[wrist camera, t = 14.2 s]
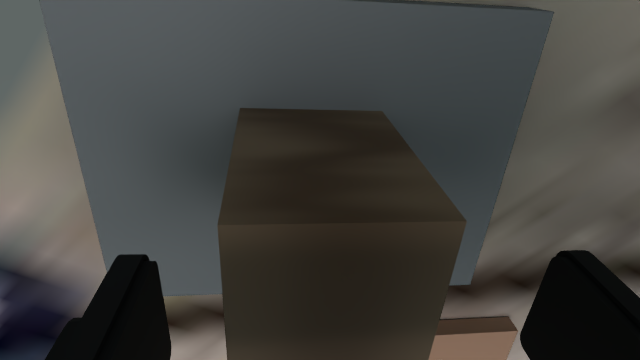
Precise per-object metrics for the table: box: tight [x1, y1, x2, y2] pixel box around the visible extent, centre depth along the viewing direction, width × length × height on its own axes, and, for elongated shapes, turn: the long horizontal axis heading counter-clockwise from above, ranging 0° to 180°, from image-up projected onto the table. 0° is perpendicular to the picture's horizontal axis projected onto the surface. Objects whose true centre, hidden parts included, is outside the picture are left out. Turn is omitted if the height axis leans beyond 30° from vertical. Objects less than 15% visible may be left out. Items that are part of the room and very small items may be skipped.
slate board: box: [39, 0, 554, 296], centre depth 16 cm, size 16×12×2 cm
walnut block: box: [217, 108, 467, 360], centre depth 12 cm, size 5×5×7 cm
